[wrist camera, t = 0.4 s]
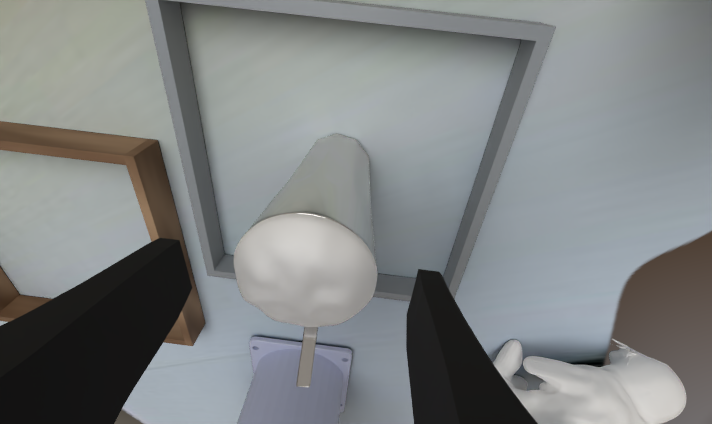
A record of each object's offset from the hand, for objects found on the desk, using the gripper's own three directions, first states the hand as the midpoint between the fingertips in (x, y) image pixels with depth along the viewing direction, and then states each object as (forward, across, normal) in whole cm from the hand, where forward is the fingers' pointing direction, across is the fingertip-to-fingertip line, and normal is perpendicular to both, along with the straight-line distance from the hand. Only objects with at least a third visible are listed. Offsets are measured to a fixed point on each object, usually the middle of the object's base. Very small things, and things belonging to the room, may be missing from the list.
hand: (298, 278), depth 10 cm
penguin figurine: (+9, -17, +14) cm, 24 cm away
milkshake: (+9, 0, 0) cm, 9 cm away
